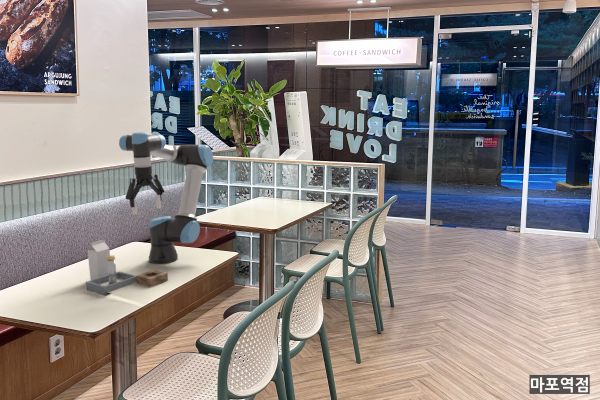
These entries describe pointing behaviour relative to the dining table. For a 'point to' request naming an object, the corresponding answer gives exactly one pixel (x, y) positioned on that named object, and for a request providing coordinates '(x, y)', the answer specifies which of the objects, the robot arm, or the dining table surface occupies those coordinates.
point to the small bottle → (111, 269)
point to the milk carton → (98, 259)
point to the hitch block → (151, 278)
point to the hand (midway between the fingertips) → (147, 211)
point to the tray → (103, 290)
